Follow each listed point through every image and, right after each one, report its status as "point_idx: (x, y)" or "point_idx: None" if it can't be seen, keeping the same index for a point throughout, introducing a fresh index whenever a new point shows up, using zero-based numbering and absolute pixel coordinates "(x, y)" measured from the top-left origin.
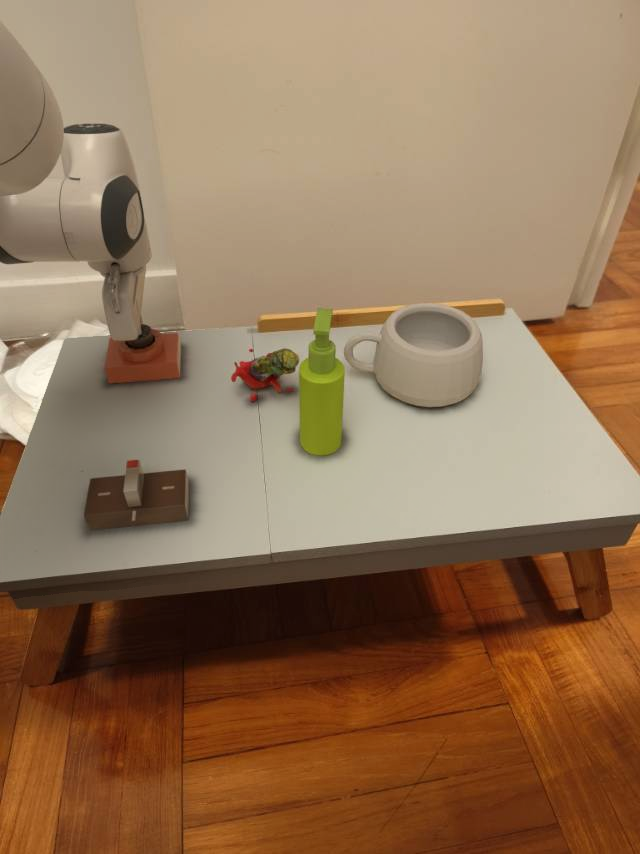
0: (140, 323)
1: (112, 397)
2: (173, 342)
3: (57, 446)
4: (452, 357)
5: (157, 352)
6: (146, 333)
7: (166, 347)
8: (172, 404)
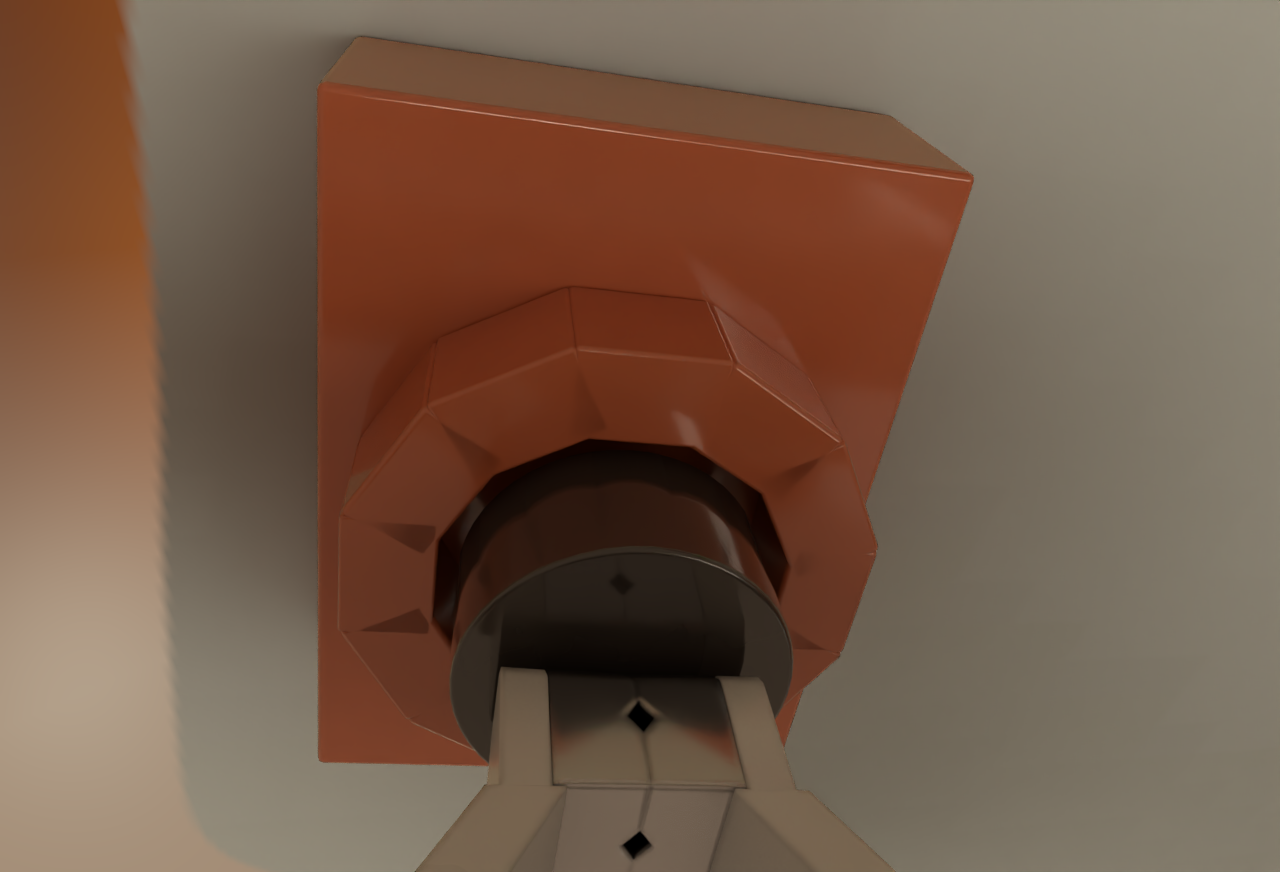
0: (705, 766)
1: (902, 625)
2: (547, 175)
3: (1176, 834)
4: None
5: (821, 402)
6: (710, 603)
7: (635, 270)
8: (1214, 225)
